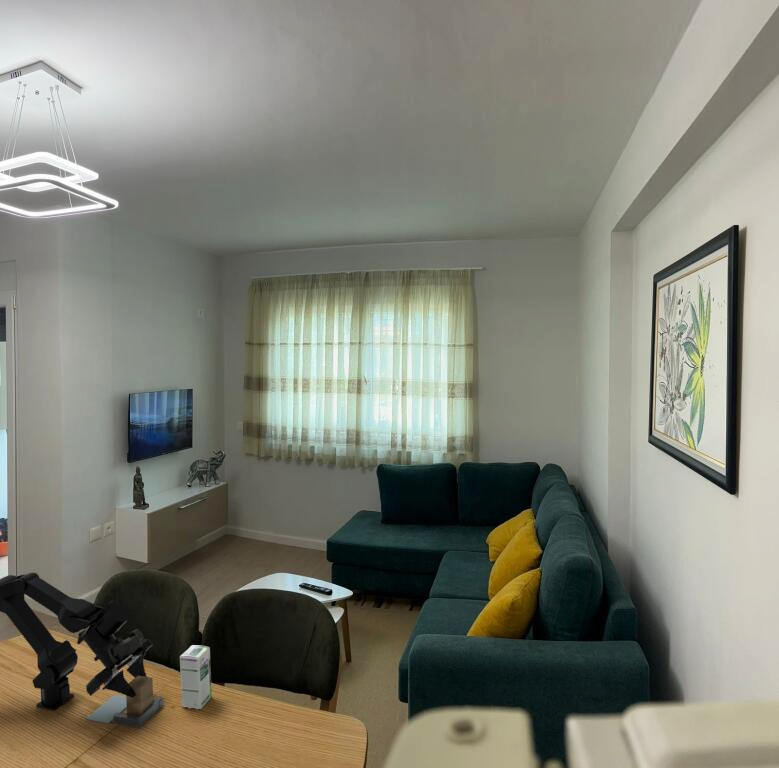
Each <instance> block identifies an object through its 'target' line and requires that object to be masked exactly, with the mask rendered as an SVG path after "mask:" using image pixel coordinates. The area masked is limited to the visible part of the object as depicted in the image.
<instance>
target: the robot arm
mask: <svg viewBox="0 0 779 768" xmlns="http://www.w3.org/2000/svg"><path fill="white" fill-rule="evenodd" d="M25 596H27V597H29V598H30V599H32V600H33V601H35V602H36V603H37V604H40V606H42V607H44V608H46V609H47V610H49V611H50V612H51V613H53V614H54V615H56V616H57V620H58V622H59V624H60V625H61V626H62V627H63V628H64V629H66V630H67V631H68V632H69V633H72V634H75V633H78V637H77V642H76V643H77V645H80V644H82V643H84V642H85V644H86V645H87V646H88V648H89V649H90V650H91V651H92V652H93V654H94V655H95V657H93V660H94V661H95V662H97V661H100V663H101V664H102V665H103V667H105V668H103V669H102V670H101V671H100V672H98V673H97V674H95V676H93V678H92V679H90V681H89V682H88V683H87V684H85V685H86V686H85V687H86V692H87V694H88V695H89V696H90V697H91V696H93V695H94V694H96V692H98V691H99V690H100V689H101V686H102V685H104V687H102V691H104V690H109V691H112V692H115V693H116V692H117V693H119V694H122V695H124V696H126V695H127V696H129V697H132V698H133V697H134V696H135V695H136V694H135V692H134V690H133V689H132V688H131V686H130V685H129V684H128V683H129V682H128V681H127V680H126V678H125V674H124V670H123V669H122V668H124V667H126V665H127V666H128V668H127V669H126V672H127V673H129V674H130V675H131V676H132V677H133V679H134V678H136V677H137V676H144V677H148V676H147V673H146V670H145V667H144V665H145V664H144V659H145V656H146V655H147V654H146V652H147V651H148V650H149V649H150V648H151V647H152V646H153V643H152V642H151V640H150V639H148V638H145V637H144V634H143V633H142V632H141V630H139V628H136V629H135V630H132V631H131V632H129V636H128V637H127V638H126V639H123V638H122V637H121V636H118V637H116V636H115V634H116V633H117V632H118V631H119V630H120V629H121V628H122V627H123V626H124V625H125V624H126V623H127V622H128V620H130V619H131V613H132V612H131V609H130V608H129V607H128V606H127V605H126V604H123V603H117V602H115V601H114V600H111V601H109V602H108V603H107V604H106V605H105V606H104V607H103V606H99V605H96V604H94V603H93V602H90V601H88V600H85V599H83V598H77V597H76V598H74V597H71V596H69V595H67V594H66V593H64V592H62V591H61V590H60V589H58V588H57V587H55V586H53V585H51V584H50V583H48V582H47V581H45V580H44V579H42V578H41V577H40V575H39V574H38V573H36V572H29V573H23V574H20V575H19V574H18V575H11V574H8V575H6V576H3V577H2V578H0V613H4V614H5V615H6V616H7V617H8V619H9V620H10V621H11V622H12V624H13V626H15V628H16V629H17V630H18V632H19V633H20V634H21V636H22V637H23V638H24V639H25V640H26V642H27V643H28V644H29V646H30V648H32V650H33V651H34V652H35V654H36V656H37V657H36V658H37V659H36V660H37V669H38V671H39V673H38V674H37V675H36V676H35V677H34V678H33V679H32V680H31V681H32V684H33V687H34V689H38V690H39V689H40V700H41V701H39V702H38V703H36V704H35V707H36V708H41V709H46V710H52V711H56V710H58V709H59V708H61V706H63V705H64V704H66V703H67V702H68V701H70V700H71V699H72V698H73V697H74V696H75V694H74V693H71V691H70V688H71V687H70V681H69V677H68V676H69V675H70V674H71V673H73V672H74V669H75V668H76V666H77V664H78V659H79V656H78V654H77V649H75V648H74V647H73V645H72V644H71V642H70V641H69V640H67V639H66V640H64V641H63V642H61V641H59V640H56V638H54V636H53V635H52V634H51V633H50V631H49V630H48V628H47V627H46V626H45V624H43V622H42V621H41V619H40V618H39V616H38V615H37V614H36V613H35V612H34V611H33V609H32V608H31V606H30V605H29V604H28V602H27V601H26V600H25V599H26V598H25ZM80 631H81V632H80ZM121 669H122V670H121ZM120 670H121V671H120Z"/></svg>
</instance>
